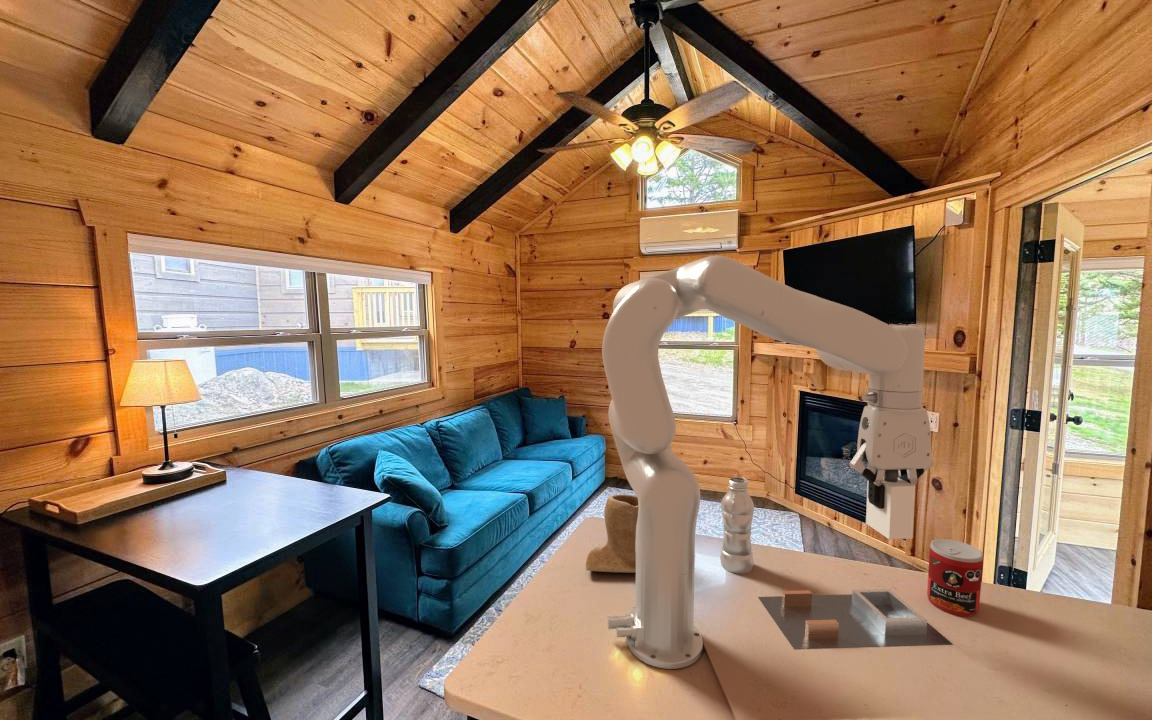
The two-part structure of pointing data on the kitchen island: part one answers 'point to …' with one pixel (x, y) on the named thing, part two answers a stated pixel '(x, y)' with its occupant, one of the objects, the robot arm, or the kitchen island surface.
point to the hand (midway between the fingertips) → (889, 504)
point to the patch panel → (850, 620)
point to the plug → (893, 508)
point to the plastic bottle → (737, 527)
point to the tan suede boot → (617, 537)
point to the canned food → (954, 577)
